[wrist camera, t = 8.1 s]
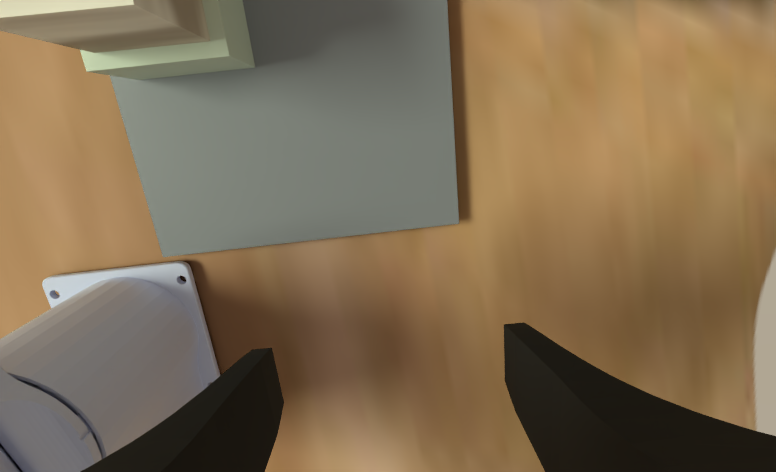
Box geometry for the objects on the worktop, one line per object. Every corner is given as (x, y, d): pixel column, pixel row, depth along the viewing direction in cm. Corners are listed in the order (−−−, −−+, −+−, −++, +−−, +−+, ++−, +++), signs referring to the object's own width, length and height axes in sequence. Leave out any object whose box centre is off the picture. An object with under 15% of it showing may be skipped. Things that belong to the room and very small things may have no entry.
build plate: (456, 220, 22) (459, 223, 21) (168, 253, 21) (163, 257, 21) (438, -106, 17) (441, -114, 17) (75, -68, 17) (65, -75, 16)
